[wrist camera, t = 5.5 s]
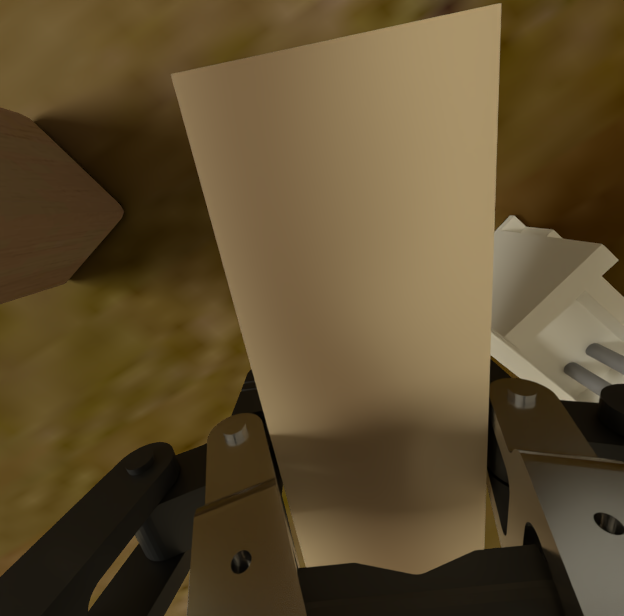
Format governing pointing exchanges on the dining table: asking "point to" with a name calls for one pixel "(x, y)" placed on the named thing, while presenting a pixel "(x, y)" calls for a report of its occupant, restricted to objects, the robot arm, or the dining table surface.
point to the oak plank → (364, 274)
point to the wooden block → (45, 210)
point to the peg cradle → (556, 312)
